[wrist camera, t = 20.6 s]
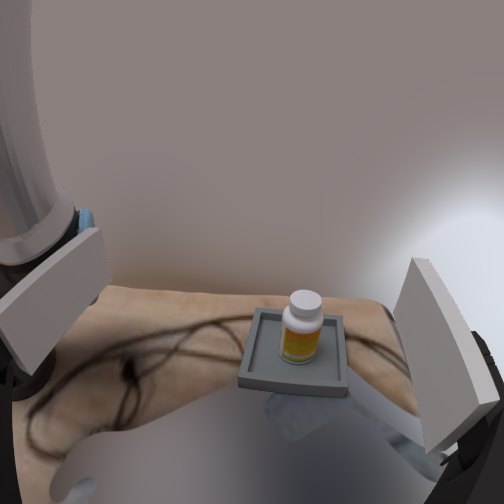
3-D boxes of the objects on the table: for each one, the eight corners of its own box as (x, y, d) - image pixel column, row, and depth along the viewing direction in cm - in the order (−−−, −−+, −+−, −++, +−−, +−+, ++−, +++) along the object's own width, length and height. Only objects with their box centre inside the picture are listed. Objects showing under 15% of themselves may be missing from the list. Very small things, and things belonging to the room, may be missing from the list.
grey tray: (238, 387, 34) (237, 376, 33) (255, 318, 46) (255, 307, 45) (343, 397, 32) (348, 387, 31) (339, 327, 44) (342, 315, 43)
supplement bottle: (321, 359, 37) (336, 307, 32) (287, 370, 36) (296, 317, 31) (305, 334, 42) (314, 282, 37) (272, 343, 40) (277, 290, 35)
